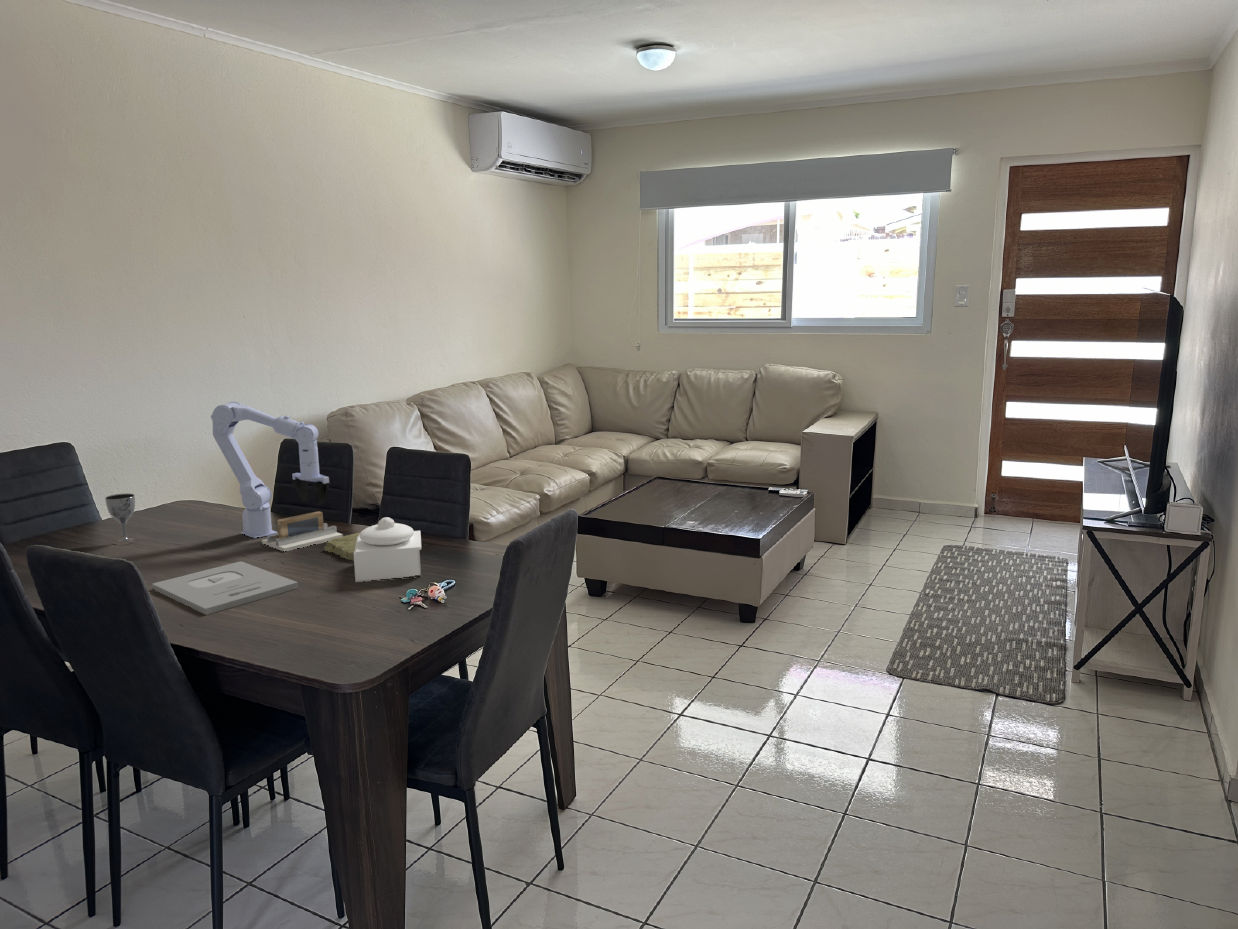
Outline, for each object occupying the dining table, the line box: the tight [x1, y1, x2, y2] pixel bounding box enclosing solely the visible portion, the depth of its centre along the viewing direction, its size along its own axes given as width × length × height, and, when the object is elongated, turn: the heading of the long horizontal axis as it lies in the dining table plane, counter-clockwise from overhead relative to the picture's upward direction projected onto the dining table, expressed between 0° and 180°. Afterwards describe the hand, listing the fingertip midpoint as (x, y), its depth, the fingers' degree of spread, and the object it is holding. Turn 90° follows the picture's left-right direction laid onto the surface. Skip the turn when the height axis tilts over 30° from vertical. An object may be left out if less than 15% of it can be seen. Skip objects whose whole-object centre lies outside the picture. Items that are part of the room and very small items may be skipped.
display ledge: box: [261, 522, 344, 553], centre depth 269 cm, size 14×20×3 cm
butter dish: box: [353, 516, 422, 583], centre depth 239 cm, size 18×18×16 cm
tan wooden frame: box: [277, 511, 324, 538], centre depth 268 cm, size 3×14×7 cm, turn 139°
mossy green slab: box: [323, 532, 361, 562], centre depth 259 cm, size 19×20×4 cm
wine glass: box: [105, 492, 136, 541], centre depth 268 cm, size 8×8×15 cm
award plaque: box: [151, 560, 299, 616], centre depth 225 cm, size 25×30×2 cm
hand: (312, 502), depth 276 cm, fingers open, 7 cm apart
